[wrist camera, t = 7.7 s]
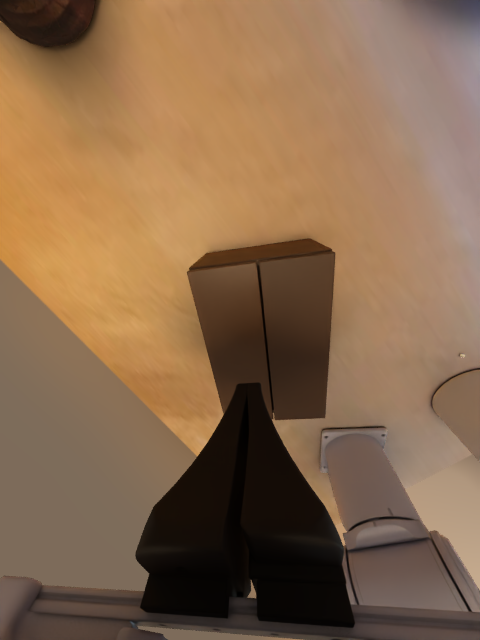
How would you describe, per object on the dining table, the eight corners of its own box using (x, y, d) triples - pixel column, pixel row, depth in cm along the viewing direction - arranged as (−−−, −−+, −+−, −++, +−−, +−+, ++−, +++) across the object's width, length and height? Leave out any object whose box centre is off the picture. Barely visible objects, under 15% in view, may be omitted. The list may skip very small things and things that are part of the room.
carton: (309, 369, 23) (326, 418, 18) (231, 374, 24) (224, 422, 19) (310, 238, 17) (337, 251, 12) (206, 253, 18) (184, 271, 13)
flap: (272, 415, 19) (273, 419, 18) (226, 418, 19) (225, 422, 19) (256, 260, 13) (256, 262, 12) (188, 270, 13) (186, 271, 13)
